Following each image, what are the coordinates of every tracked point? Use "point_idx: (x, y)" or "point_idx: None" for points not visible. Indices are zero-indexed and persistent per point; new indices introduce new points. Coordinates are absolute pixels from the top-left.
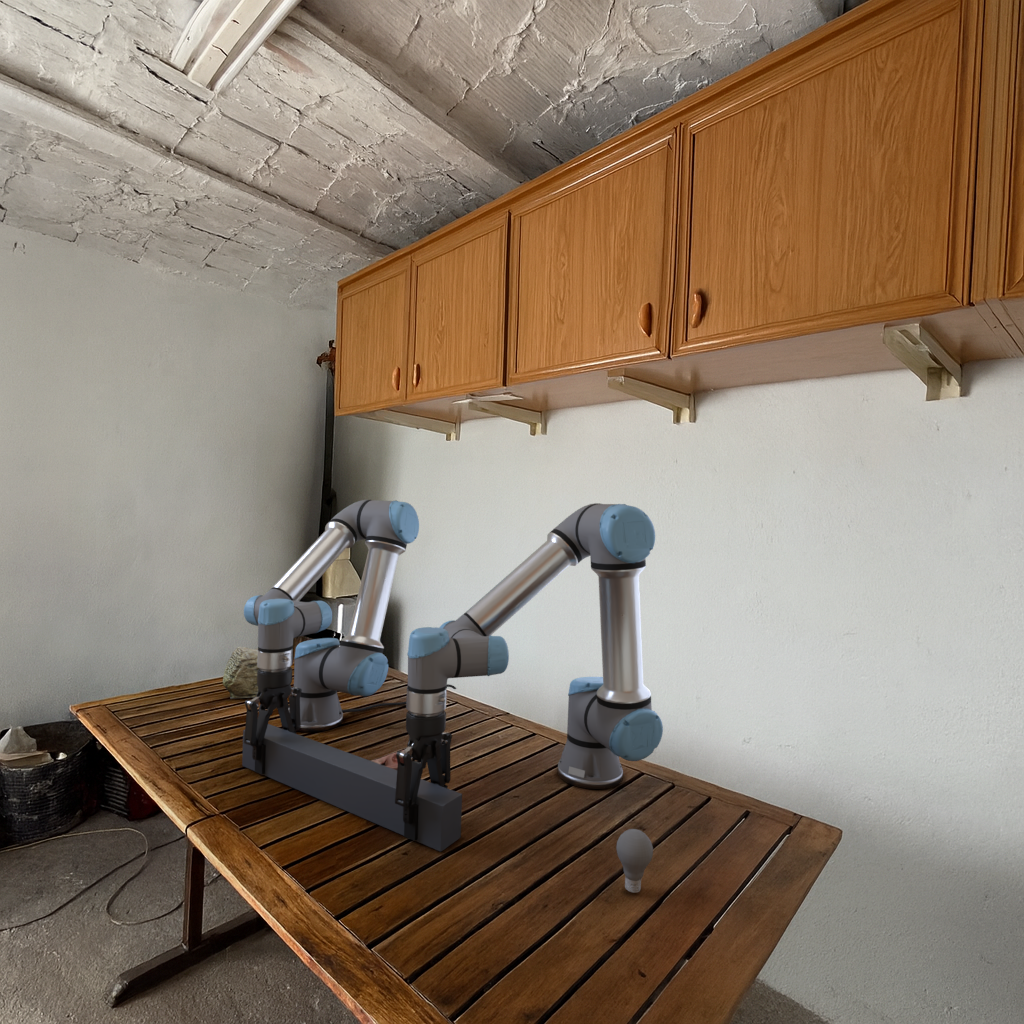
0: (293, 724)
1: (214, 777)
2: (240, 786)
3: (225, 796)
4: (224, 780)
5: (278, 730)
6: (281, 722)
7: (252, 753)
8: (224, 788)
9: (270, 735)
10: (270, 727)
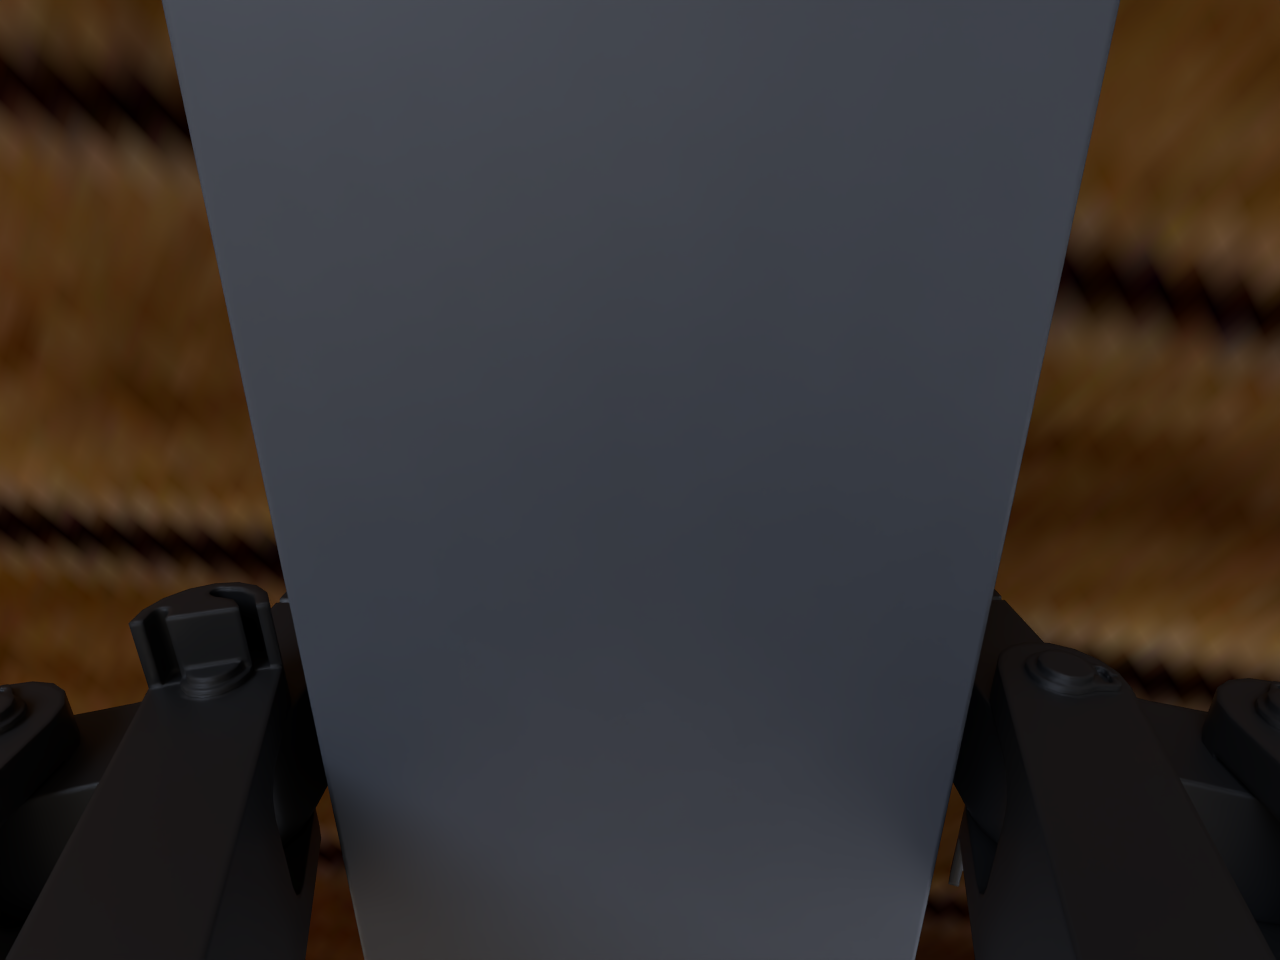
0: (1258, 848)
1: (68, 138)
2: (221, 555)
3: (33, 621)
4: (140, 313)
5: (831, 781)
6: (1048, 879)
7: (282, 598)
8: (76, 480)
9: (523, 867)
10: (870, 493)
